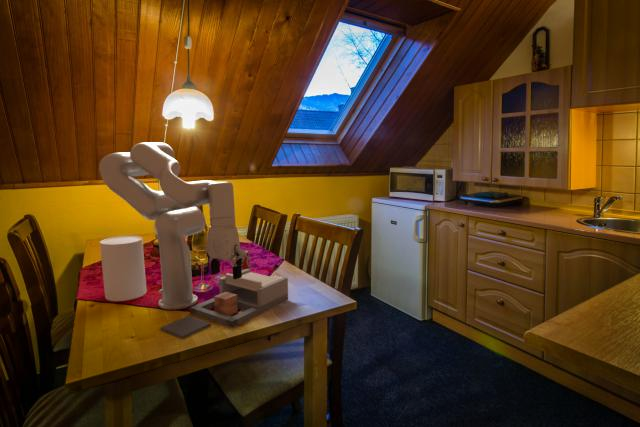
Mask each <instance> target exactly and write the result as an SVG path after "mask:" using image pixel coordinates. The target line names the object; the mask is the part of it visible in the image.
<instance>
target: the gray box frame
mask: <svg viewBox="0 0 640 427" xmlns="http://www.w3.org/2000/svg"><path fill="white" fill-rule="evenodd" d="M249 272H250V269H245V270H242V275H243V274H246V273H249ZM288 281H289V279H288V277H286V276H285V277H281V278H279V280H276V281H274V282H272V283H269V284H267V285H264V286H262V287H260V288H257V291H253V290H250V289H246V288H242V287H238V286H234V285H230V284H227V283H226V282H225V276H223V277H220V278H218V285H219V294H221V293H224V292H229V293H233V294H236V295H237V306H238V310H240V311H241V312H239V313H236V314H234V315H232V316H226V315H223V314H220V313H217V312H215V310H214V311H213V310H211V309H214V308H215V304H214V297H213V298H210V299H208V300H205V301H203V302H200V303H196V304H194V305H192V306H190V307H189V313H190V314H191V315H194V316H197V317H199V318H203V319H206V320H208V321H211V322H214V323H217V324H220V325H223V326H226V327H229V328H231V329H233V328H235V327H237V326H239V325H241V324H244V323H245V322H248V321H249V320H252V319H254V318H256V317H257V316H261V314H264V313H265V312H267V311H269V310H271V309H273V308H276V307H277V306H279V305H281V304H283V303H286V302H288V301H289V282H288ZM213 307H214V308H213ZM208 309H209V310H208Z"/></svg>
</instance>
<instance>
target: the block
mask: <svg viewBox="0 0 640 427" xmlns="http://www.w3.org/2000/svg"><path fill="white" fill-rule="evenodd" d="M213 298H214V304H215V307H214V312H217V313H220V314H223V315H226V316H229V317H232V316H234V315H235V314H234V313H236V314H239V313H238V311H239V309H238V306H237V295H236V294H233V293H229V292H224V293H221V294H220V293H219V294H217V295H214V297H213Z"/></svg>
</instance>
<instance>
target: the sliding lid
mask: <svg viewBox="0 0 640 427" xmlns="http://www.w3.org/2000/svg"><path fill="white" fill-rule="evenodd" d="M224 277H225V282H226V283H227V284H230V285H234V286H238V287H242V288H246V289H250V290H253V291H257V288H260V287H262V286H264V285H267V284H269V283H272V282H274V281H276V280H279V279H280V278H278V277H273V276H271V275H270V276H268V275H264V274H262V273H261V274H260V273H257V272H252V271H251V272H249V273H246V274H243V275H242V277H241V278H238V279H233V274H232V273H229V272H227V273H225V274H224Z"/></svg>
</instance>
